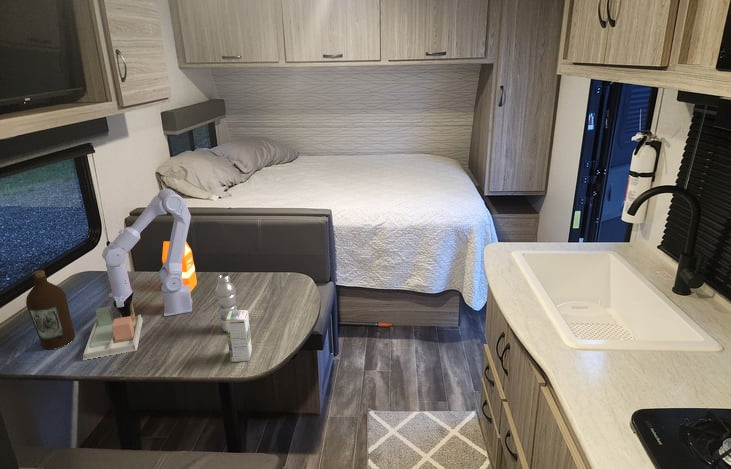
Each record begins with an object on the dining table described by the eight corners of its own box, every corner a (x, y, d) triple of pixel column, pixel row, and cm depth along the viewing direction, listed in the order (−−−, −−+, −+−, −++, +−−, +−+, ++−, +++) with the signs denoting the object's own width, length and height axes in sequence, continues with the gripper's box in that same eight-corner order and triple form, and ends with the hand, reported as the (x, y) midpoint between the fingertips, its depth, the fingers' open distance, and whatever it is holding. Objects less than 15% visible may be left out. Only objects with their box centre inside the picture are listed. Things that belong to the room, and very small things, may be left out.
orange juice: (190, 292, 185) (182, 244, 178) (168, 292, 186) (158, 245, 178) (197, 283, 193) (189, 237, 185) (175, 283, 193) (167, 237, 186)
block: (133, 329, 157) (130, 316, 155) (132, 337, 153) (129, 323, 151) (117, 332, 156) (114, 319, 154) (115, 340, 151) (111, 326, 150)
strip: (98, 325, 162) (94, 309, 160) (116, 322, 164) (112, 306, 161) (90, 347, 149) (86, 330, 147) (110, 344, 151) (106, 326, 149)
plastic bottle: (245, 325, 161) (238, 272, 154) (233, 336, 155) (225, 281, 148) (228, 322, 163) (221, 270, 156) (217, 333, 157) (208, 278, 150)
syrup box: (233, 351, 147) (227, 310, 142) (253, 350, 148) (247, 309, 142) (230, 362, 142) (224, 320, 137) (250, 361, 142) (244, 319, 137)
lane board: (95, 327, 162) (93, 322, 161) (142, 319, 167) (141, 314, 166) (83, 360, 144) (81, 354, 144) (136, 350, 149) (135, 344, 148)
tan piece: (120, 321, 164) (116, 305, 162) (138, 318, 166) (134, 302, 163) (114, 343, 152) (110, 325, 149) (133, 339, 153) (129, 322, 151)
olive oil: (46, 335, 158) (24, 267, 150) (81, 330, 161) (62, 263, 152) (34, 353, 149) (11, 282, 140) (72, 347, 151) (51, 277, 143)
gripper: (109, 273, 163) (117, 308, 168) (102, 291, 150) (111, 328, 155) (131, 270, 165) (139, 304, 170) (126, 288, 153) (135, 324, 157)
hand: (127, 315), depth 163 cm, fingers closed on tan piece, 3 cm apart
